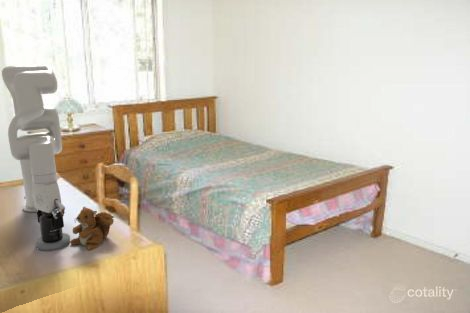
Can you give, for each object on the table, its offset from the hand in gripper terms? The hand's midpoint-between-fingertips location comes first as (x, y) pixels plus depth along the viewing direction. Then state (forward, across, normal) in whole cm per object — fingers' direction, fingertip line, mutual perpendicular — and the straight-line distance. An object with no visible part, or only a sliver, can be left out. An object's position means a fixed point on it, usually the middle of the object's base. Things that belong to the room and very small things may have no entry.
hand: (51, 224), depth 147 cm
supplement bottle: (+6, 0, 0) cm, 6 cm away
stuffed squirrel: (+7, +11, +9) cm, 16 cm away
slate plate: (+7, 0, 0) cm, 7 cm away
